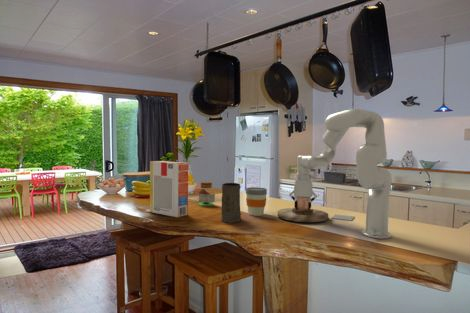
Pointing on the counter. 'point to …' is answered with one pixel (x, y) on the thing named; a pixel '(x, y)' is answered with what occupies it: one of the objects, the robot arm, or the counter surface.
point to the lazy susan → (302, 215)
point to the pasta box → (169, 188)
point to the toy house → (206, 195)
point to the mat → (343, 217)
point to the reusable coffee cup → (256, 200)
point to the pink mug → (302, 204)
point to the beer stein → (231, 203)
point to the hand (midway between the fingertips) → (302, 208)
